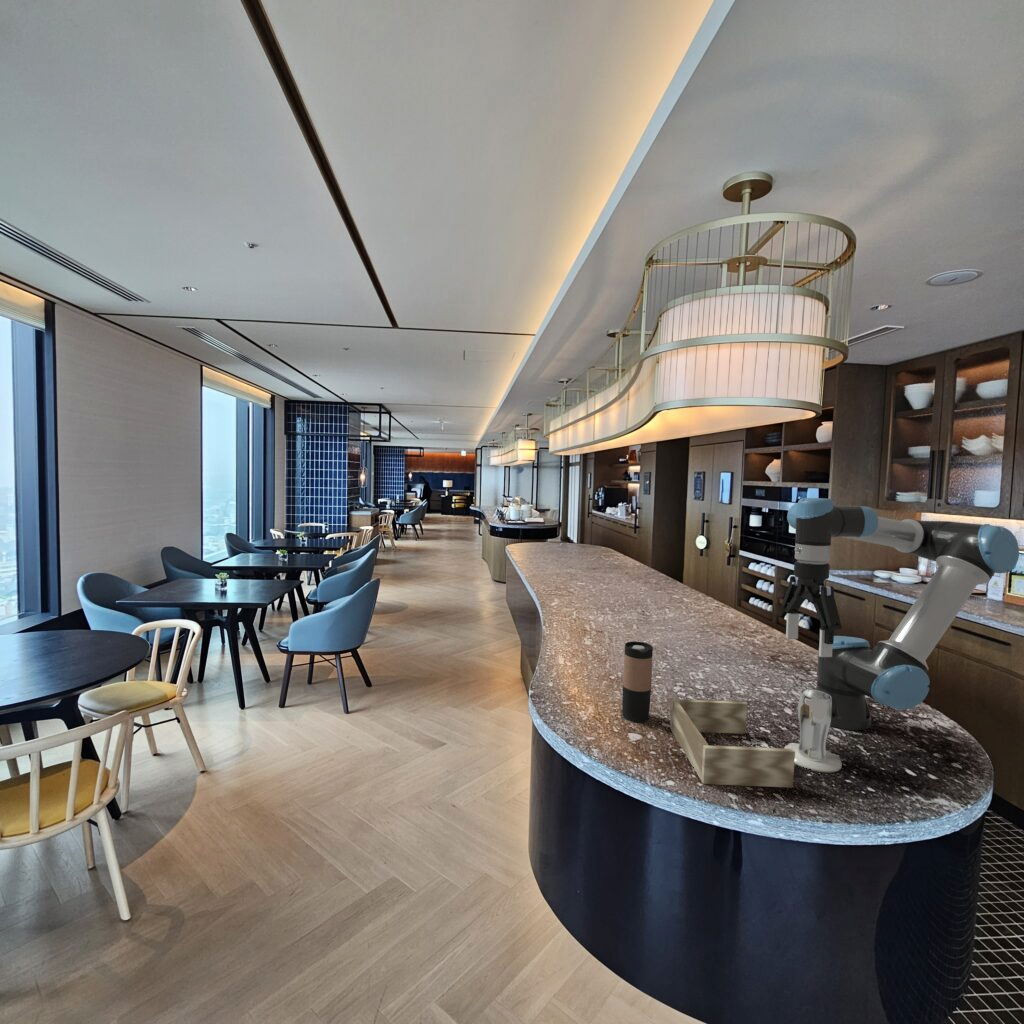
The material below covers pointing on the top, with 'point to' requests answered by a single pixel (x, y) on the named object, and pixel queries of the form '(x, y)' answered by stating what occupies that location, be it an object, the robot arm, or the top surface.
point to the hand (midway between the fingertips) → (807, 647)
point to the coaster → (826, 766)
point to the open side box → (727, 760)
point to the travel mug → (637, 681)
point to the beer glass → (814, 723)
